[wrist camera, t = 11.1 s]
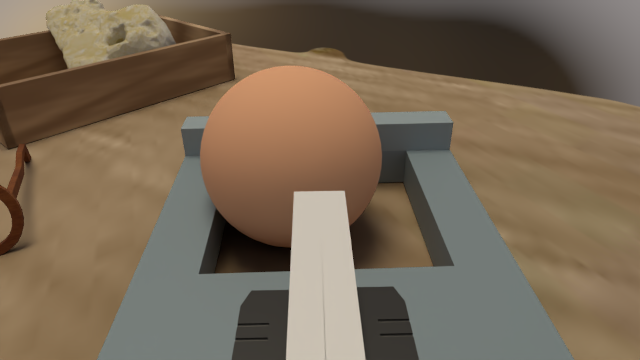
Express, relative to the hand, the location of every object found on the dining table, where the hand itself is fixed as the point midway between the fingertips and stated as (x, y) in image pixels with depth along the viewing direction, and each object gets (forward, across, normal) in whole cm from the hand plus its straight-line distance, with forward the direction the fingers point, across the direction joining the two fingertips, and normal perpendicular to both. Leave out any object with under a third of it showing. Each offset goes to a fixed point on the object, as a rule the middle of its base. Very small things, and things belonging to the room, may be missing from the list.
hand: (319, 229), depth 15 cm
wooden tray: (+38, -23, -9) cm, 45 cm away
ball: (+12, -1, -4) cm, 13 cm away
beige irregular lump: (+39, -23, -9) cm, 46 cm away
